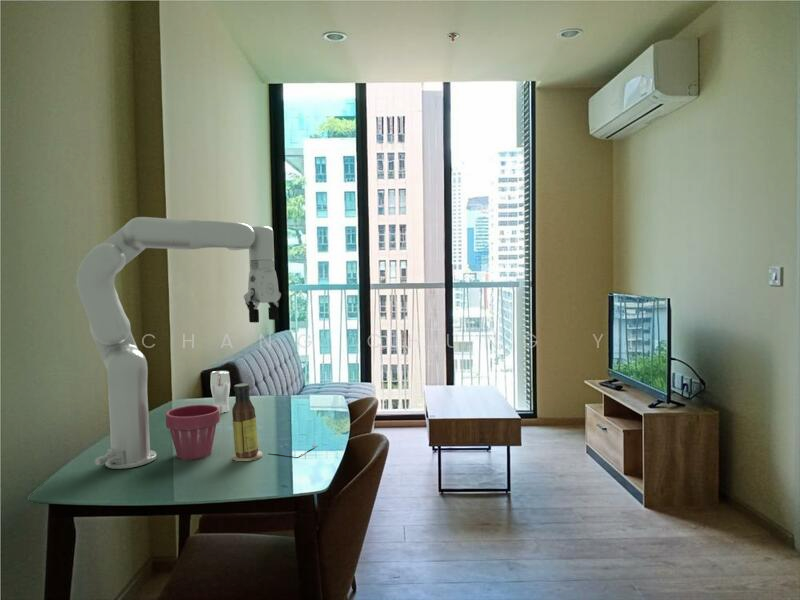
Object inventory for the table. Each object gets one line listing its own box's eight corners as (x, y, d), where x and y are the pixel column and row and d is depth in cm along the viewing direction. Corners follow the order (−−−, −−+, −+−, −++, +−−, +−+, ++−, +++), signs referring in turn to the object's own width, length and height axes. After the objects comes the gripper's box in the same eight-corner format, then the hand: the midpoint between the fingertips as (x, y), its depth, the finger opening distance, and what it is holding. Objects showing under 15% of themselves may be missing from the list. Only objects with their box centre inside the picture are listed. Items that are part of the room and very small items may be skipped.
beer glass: (210, 410, 198) (209, 371, 198) (229, 408, 201) (228, 369, 201) (212, 415, 192) (210, 374, 191) (232, 412, 195) (230, 372, 194)
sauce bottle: (260, 451, 149) (258, 381, 148) (255, 458, 142) (252, 386, 142) (237, 452, 148) (234, 382, 148) (231, 459, 142) (228, 387, 141)
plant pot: (231, 449, 153) (229, 405, 153) (197, 465, 140) (195, 418, 139) (192, 444, 158) (190, 402, 157) (155, 460, 145) (153, 414, 144)
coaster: (250, 463, 141) (249, 461, 141) (226, 460, 144) (226, 458, 144) (268, 454, 148) (268, 451, 148) (245, 451, 151) (245, 449, 151)
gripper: (254, 265, 154) (256, 323, 155) (288, 266, 170) (289, 318, 171) (233, 266, 157) (236, 323, 158) (268, 266, 173) (270, 318, 174)
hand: (264, 320), depth 164 cm, fingers open, 9 cm apart
